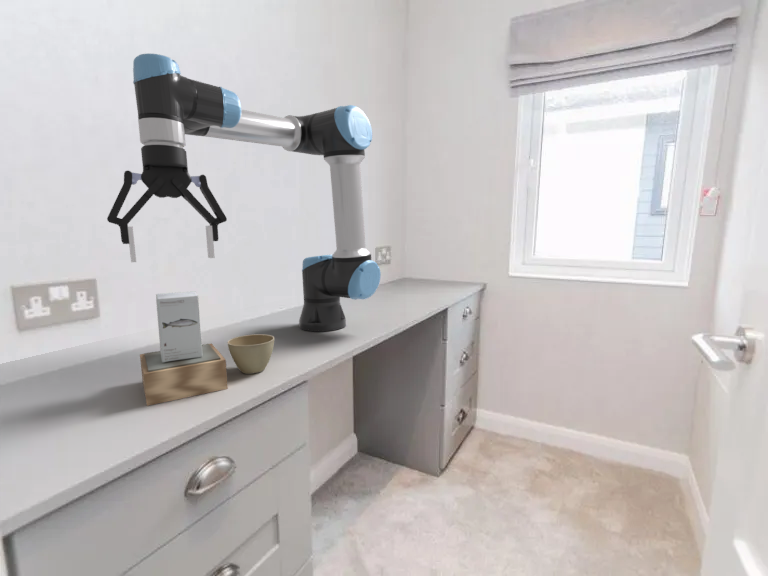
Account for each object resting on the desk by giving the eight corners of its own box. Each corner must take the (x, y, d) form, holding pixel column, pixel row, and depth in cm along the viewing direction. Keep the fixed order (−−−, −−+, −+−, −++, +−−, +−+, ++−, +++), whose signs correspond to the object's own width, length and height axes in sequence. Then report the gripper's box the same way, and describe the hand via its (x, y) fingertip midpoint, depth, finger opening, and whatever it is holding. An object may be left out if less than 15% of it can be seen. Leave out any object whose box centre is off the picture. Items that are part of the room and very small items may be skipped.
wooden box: (213, 368, 92) (211, 342, 91) (227, 388, 81) (225, 358, 80) (142, 382, 84) (139, 353, 84) (146, 405, 73) (143, 372, 72)
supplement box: (161, 363, 77) (155, 298, 75) (161, 353, 83) (155, 293, 81) (203, 357, 80) (198, 295, 78) (200, 348, 87) (195, 290, 85)
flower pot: (284, 365, 94) (282, 335, 93) (257, 380, 85) (256, 347, 84) (248, 361, 97) (247, 332, 96) (219, 375, 88) (217, 343, 87)
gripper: (228, 155, 86) (235, 255, 89) (82, 143, 72) (97, 262, 75) (237, 149, 79) (244, 257, 83) (79, 135, 66) (95, 265, 69)
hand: (174, 259), depth 79 cm, fingers open, 13 cm apart
